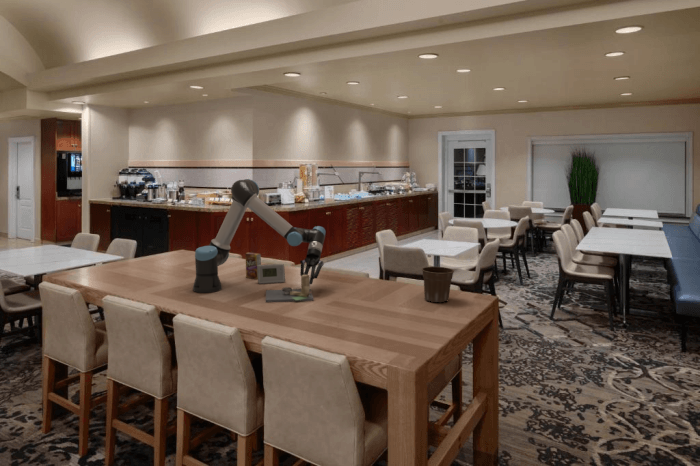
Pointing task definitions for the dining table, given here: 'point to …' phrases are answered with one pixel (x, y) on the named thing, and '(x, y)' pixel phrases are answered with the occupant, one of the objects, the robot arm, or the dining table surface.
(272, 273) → the digital clock
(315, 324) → the dining table surface
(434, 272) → the plant pot
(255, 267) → the candy box
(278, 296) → the dial board
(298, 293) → the lever
